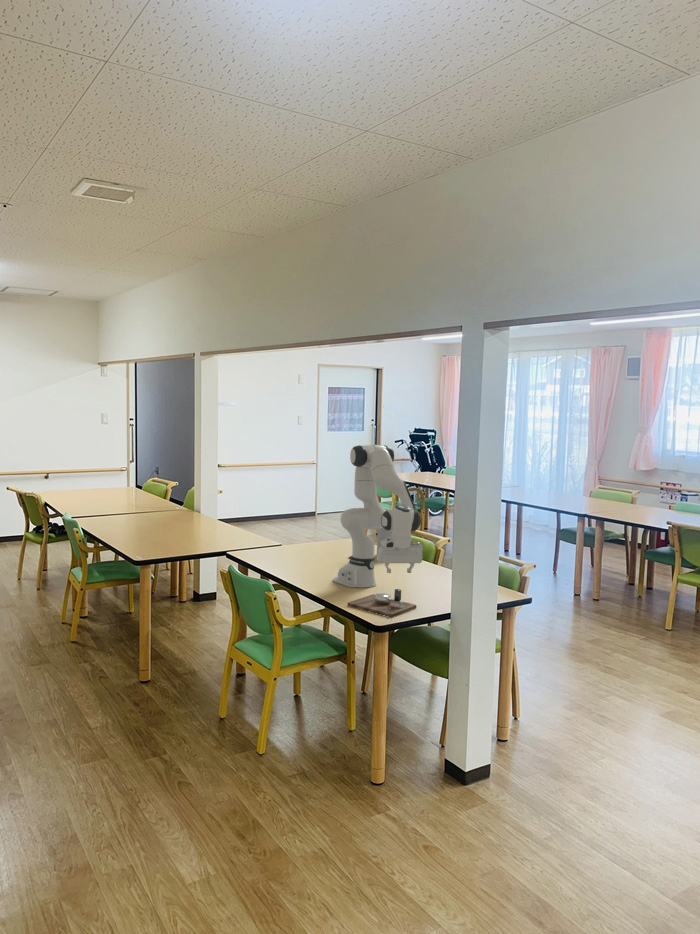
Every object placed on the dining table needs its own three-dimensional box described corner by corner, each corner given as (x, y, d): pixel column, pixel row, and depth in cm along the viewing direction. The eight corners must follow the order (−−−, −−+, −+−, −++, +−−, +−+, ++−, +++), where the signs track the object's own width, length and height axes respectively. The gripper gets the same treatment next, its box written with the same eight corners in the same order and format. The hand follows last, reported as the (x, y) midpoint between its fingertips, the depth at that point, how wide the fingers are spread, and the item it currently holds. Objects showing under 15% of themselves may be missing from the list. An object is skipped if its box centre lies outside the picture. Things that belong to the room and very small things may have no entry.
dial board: (347, 605, 311) (347, 602, 310) (373, 597, 326) (373, 593, 326) (391, 617, 296) (391, 614, 296) (416, 608, 312) (416, 604, 312)
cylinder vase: (373, 554, 419) (375, 513, 417) (391, 553, 424) (393, 513, 422) (382, 559, 408) (384, 517, 405) (401, 558, 413) (403, 516, 411)
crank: (372, 601, 313) (372, 586, 312) (381, 598, 318) (382, 583, 317) (397, 608, 304) (398, 592, 303) (406, 605, 309) (407, 589, 309)
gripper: (420, 540, 311) (419, 570, 313) (377, 540, 307) (375, 570, 308) (425, 544, 305) (423, 574, 306) (380, 543, 300) (378, 574, 302)
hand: (399, 572), depth 307 cm, fingers open, 8 cm apart
